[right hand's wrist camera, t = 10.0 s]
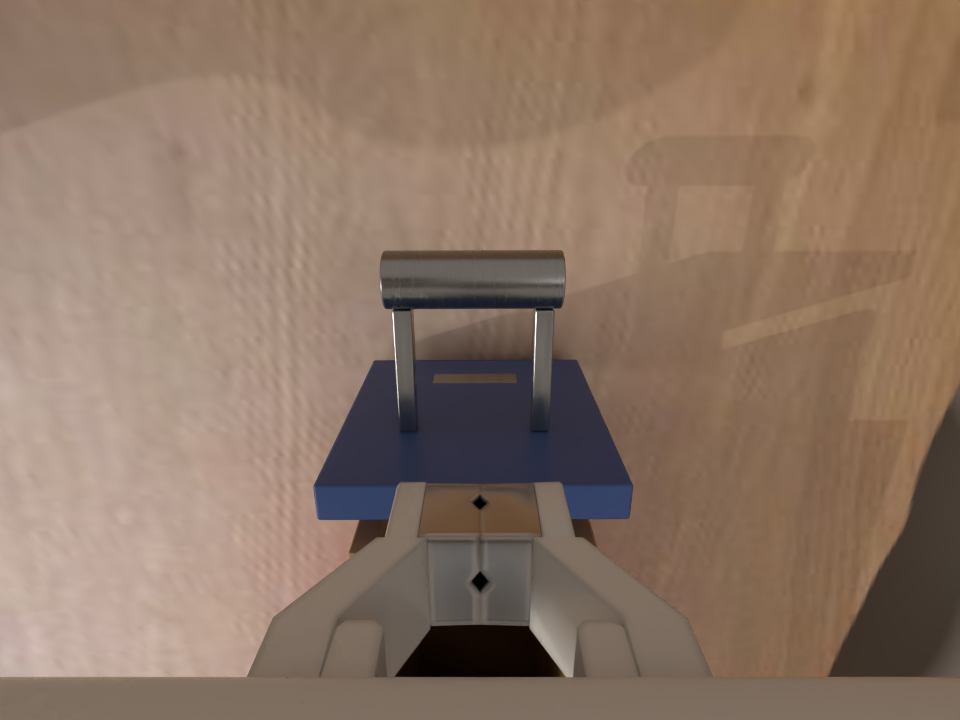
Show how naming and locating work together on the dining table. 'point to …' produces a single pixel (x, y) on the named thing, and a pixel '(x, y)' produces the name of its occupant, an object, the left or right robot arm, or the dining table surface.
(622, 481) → the drawer
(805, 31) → the dining table surface
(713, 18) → the dining table surface
